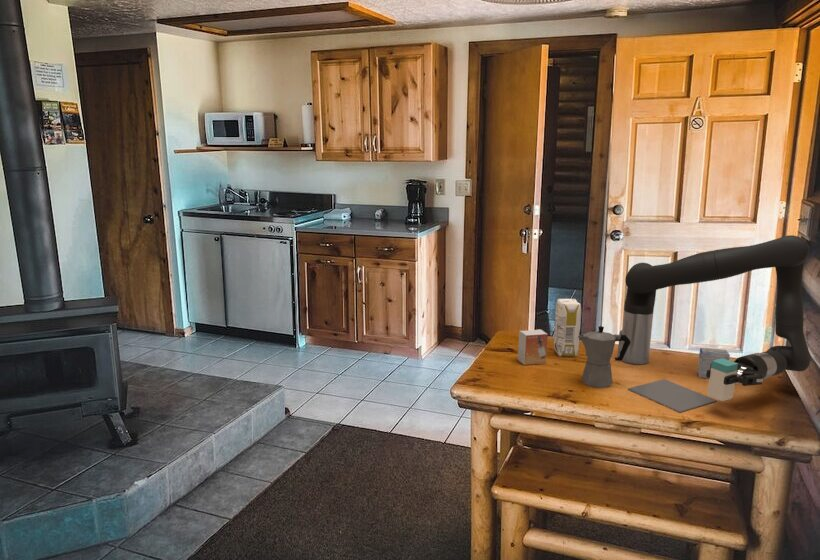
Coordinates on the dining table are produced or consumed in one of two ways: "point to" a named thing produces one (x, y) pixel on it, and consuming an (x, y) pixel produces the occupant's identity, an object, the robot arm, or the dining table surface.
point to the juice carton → (567, 327)
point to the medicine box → (709, 359)
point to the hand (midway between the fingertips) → (716, 377)
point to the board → (672, 395)
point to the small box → (532, 347)
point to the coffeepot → (600, 356)
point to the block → (721, 379)
